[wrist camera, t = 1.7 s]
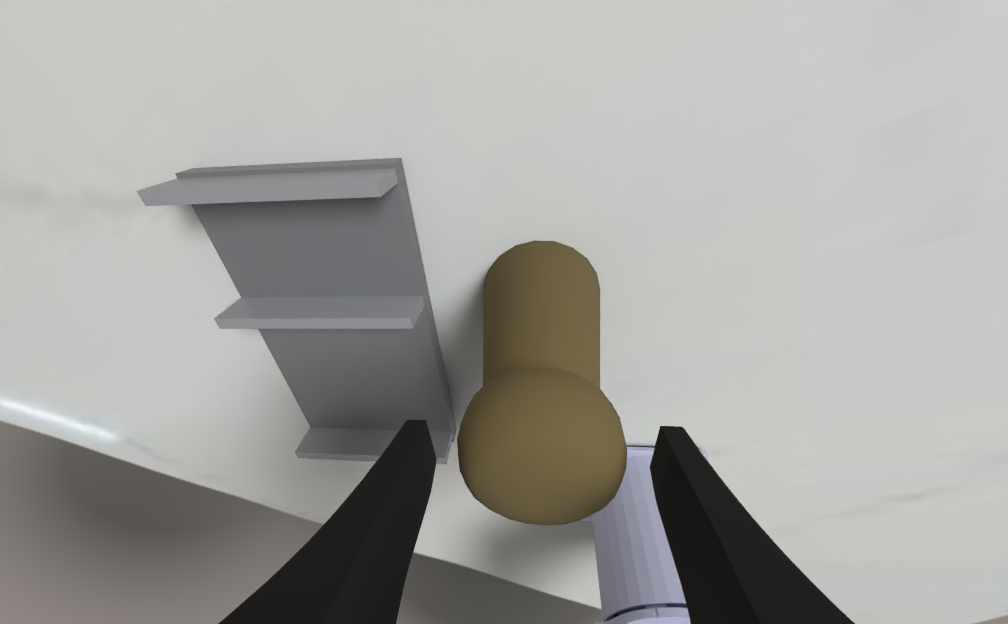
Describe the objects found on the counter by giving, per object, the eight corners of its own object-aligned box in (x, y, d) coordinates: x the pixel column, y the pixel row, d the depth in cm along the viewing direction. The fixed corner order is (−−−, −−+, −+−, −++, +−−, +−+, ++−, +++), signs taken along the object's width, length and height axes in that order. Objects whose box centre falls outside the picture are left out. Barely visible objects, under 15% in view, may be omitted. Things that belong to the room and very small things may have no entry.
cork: (514, 352, 22) (494, 562, 12) (462, 269, 19) (387, 459, 10) (615, 319, 20) (679, 536, 11) (574, 219, 17) (613, 400, 8)
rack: (456, 429, 26) (447, 467, 23) (322, 425, 27) (300, 461, 24) (401, 158, 16) (375, 175, 13) (193, 168, 17) (133, 185, 15)
